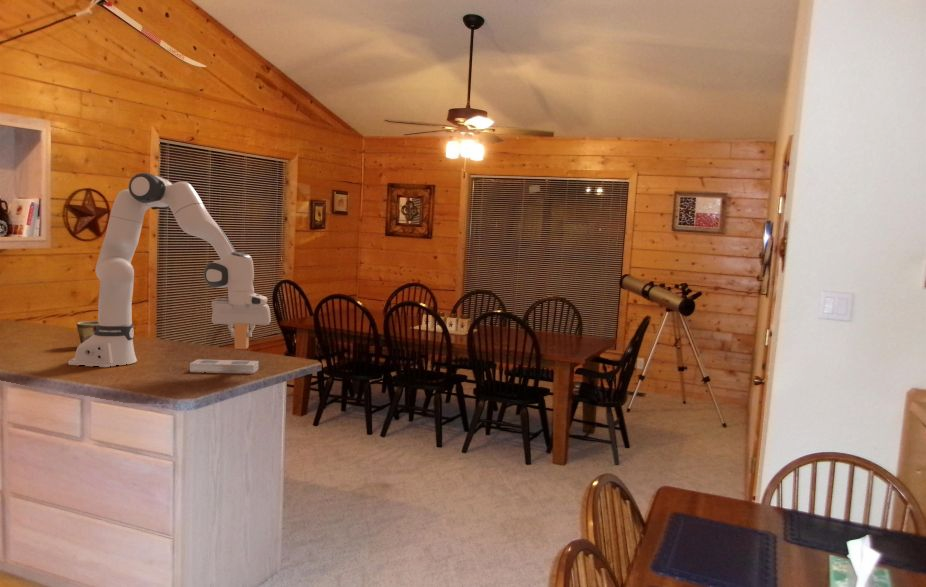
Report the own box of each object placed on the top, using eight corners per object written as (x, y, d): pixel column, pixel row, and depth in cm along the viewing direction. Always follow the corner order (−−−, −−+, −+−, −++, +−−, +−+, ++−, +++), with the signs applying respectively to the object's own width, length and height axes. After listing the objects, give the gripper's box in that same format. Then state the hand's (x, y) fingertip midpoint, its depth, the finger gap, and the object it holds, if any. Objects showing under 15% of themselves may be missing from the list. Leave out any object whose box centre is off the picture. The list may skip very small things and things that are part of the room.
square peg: (234, 348, 254) (234, 323, 253) (237, 346, 258) (237, 322, 257) (246, 348, 255) (245, 324, 254) (248, 346, 259) (248, 322, 258)
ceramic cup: (100, 349, 286) (99, 324, 285) (73, 349, 285) (72, 324, 284) (110, 343, 299) (110, 320, 298) (85, 343, 298) (84, 319, 297)
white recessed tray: (189, 372, 252) (189, 363, 252) (197, 367, 260) (197, 359, 260) (253, 373, 253) (253, 365, 253) (258, 369, 261) (258, 360, 261)
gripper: (208, 298, 251) (209, 337, 252) (268, 299, 252) (268, 338, 254) (214, 296, 257) (214, 334, 259) (271, 297, 258) (271, 335, 260)
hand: (241, 336), depth 256 cm, fingers closed on square peg, 4 cm apart
